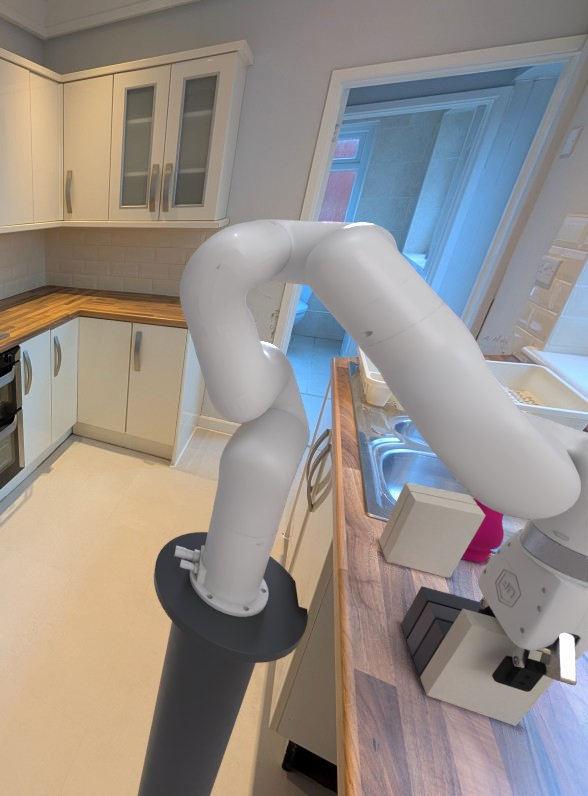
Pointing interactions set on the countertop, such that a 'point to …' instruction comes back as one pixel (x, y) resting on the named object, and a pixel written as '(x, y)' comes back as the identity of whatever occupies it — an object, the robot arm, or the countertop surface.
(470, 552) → the pepper mill
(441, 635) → the dark grey grooved block
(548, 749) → the countertop surface
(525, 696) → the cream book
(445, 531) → the beige rectangular block
